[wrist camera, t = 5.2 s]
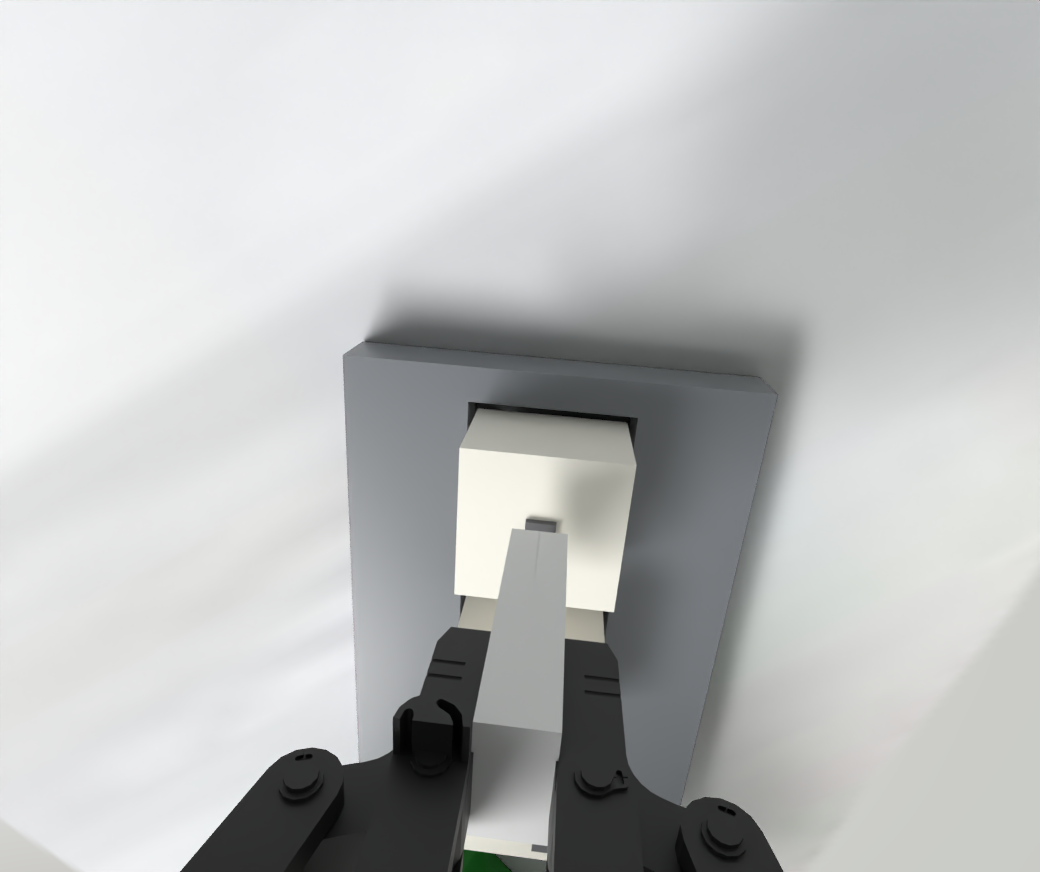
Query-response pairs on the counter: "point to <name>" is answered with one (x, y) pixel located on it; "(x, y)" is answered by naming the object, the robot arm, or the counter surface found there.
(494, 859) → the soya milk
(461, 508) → the key one
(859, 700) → the counter surface
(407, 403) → the keypad board
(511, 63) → the counter surface
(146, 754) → the counter surface
